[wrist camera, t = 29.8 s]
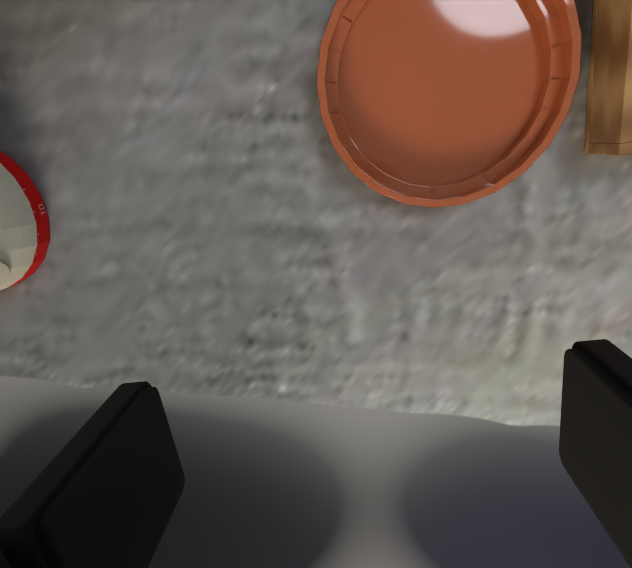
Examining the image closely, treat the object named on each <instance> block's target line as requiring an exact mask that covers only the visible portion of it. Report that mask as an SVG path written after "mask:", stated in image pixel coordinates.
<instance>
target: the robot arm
mask: <svg viewBox="0 0 632 568" xmlns="http://www.w3.org/2000/svg"><path fill="white" fill-rule="evenodd" d="M559 454H560V458H561V461H562V464H563V466H564V468H565V470H566V471H567V473H568V474H569V476H570V477H571V479H572V480H573V482H574V483H575V485H576V486H577V488H578V489H579V491H580V492H581V494H582V495H583V497H584V498H585V500H586V501H587V503H588V505H589V506H590V508H591V509H592V510H593V512H594V514H595V515H596V517H597V518H598V520H599V521H600V523H601V524H602V526H603V527H604V529H605V530H606V532H607V533H608V535H609V536H610V538H611V539H612V541H613V542H614V544H615V545H616V547H617V548H618V550H619V552H620V553H621V555H622V556H623V558H624V559H625V561H626V562H627V564H628V565H629V566H630V568H632V358H630V357H629V356H628V355H626V354H625V353H624V352H623V351H621V350H620V349H619V348H617V347H616V346H615V345H614V344H612V343H611V342H610V341H608V340H606V339H601V340H590V341H579V342H575V343H574V344H573V346H572V349H567V350H566V352H565V355H564V369H563V387H562V405H561V423H560V441H559ZM184 482H185V479H184V473H183V469H182V466H181V463H180V460H179V457H178V453H177V450H176V447H175V443H174V440H173V437H172V434H171V430H170V427H169V424H168V421H167V417H166V414H165V411H164V408H163V404H162V401H161V398H160V395H159V392H158V390H157V388H156V387H151V385H150V384H149V383H148V382H146V381H145V382H134V383H124V384H121V385H120V386H119V387H118V388H117V389H116V390H115V391H114V392H113V394H112V395H111V396H110V397H109V398H108V399H107V400H106V401H105V402H104V403H103V405H102V406H101V407H100V408H99V409H98V410H97V411H96V412H95V413H94V415H93V416H92V417H91V418H90V419H89V420H88V421H87V422H86V424H85V425H84V426H83V427H82V428H81V429H80V430H79V431H78V432H77V433H76V435H75V436H74V437H73V438H72V439H71V440H70V441H69V442H68V444H66V446H65V447H64V448H63V449H62V450H61V451H60V452H59V454H58V455H57V456H56V457H55V458H54V459H53V460H52V461H51V462H50V463H49V464H48V466H47V467H46V468H45V469H44V470H43V471H42V472H41V473H40V474H39V475H38V477H37V478H36V479H35V480H34V481H33V482H32V483H31V484H30V485H29V487H28V488H27V489H26V490H25V491H24V492H23V493H22V495H21V496H20V497H19V498H18V499H17V500H16V501H15V502H14V503H13V505H11V507H10V508H9V509H8V510H7V511H6V512H5V513H4V514H3V516H1V518H0V568H148V566H149V564H150V562H151V559H152V557H153V555H154V553H155V551H156V548H157V546H158V544H159V542H160V540H161V537H162V535H163V533H164V531H165V529H166V527H167V524H168V522H169V520H170V517H171V516H172V513H173V511H174V509H175V507H176V505H177V503H178V500H179V498H180V496H181V494H182V491H183V488H184Z"/></svg>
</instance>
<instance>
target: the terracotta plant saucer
mask: <svg viewBox="0 0 632 568" xmlns="http://www.w3.org/2000/svg"><path fill="white" fill-rule="evenodd" d="M581 41H582V35H581V30H580V25H579V20H578V15H577V10H576V5H575V1H574V0H338V1H337V2H336V4H335V5H334V8H333V10H332V13H331V16H330V19H329V22H328V24H327V27H326V30H325V33H324V36H323V38H322V41H321V45H320V55H319V64H318V73H317V87H318V95H319V103H320V111H321V116H322V119H323V122H324V124H325V127H326V130H327V132H328V135H329V137H330V140H331V142H332V145H333V147H334V149H335V150H336V151H337V153H338V154H339V155H340V157H341V158H342V160H343V161H344V162H345V164H346V165H347V166H348V168H349V169H350V170H351V172H352V173H353V174H354V175H356V176H357V177H358V178H359V179H361V180H362V181H363V182H364V183H366V184H367V185H368V186H369V187H371V188H372V189H373V190H375V191H376V192H378V193H380V194H383V195H385V196H387V197H390V198H392V199H394V200H397V201H399V202H401V203H404V204H411V205H418V206H426V207H433V208H434V207H443V206H451V205H459V204H465V203H469V202H471V201H474V200H476V199H479V198H481V197H484V196H487V195H489V194H492V193H494V192H496V191H498V190H500V189H501V188H503V187H504V186H505V185H507V184H508V183H510V182H511V181H513V180H514V179H516V178H517V177H518V176H520V175H521V174H523V173H524V172H525V171H526V170H527V169H528V168H529V167H530V166H531V165H532V164H533V163H534V162H535V161H536V159H537V158H538V157H539V156H540V155H541V154H542V153H543V152H544V151H545V150H546V148H547V147H548V146H549V145H550V144H551V142H552V140H553V139H554V137H555V135H556V133H557V132H558V130H559V128H560V126H561V125H562V123H563V121H564V119H565V118H566V116H567V114H568V112H569V109H570V105H571V102H572V99H573V95H574V92H575V89H576V86H577V82H578V79H579V75H580V58H581Z"/></svg>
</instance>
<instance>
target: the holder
mask: <svg viewBox="0 0 632 568" xmlns="http://www.w3.org/2000/svg"><path fill="white" fill-rule="evenodd" d="M584 153H594V154H608V155H625V154H632V0H594V3H593V18H592V34H591V50H590V65H589V81H588V97H587V112H586V128H585V144H584Z"/></svg>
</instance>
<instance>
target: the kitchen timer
mask: <svg viewBox="0 0 632 568" xmlns="http://www.w3.org/2000/svg"><path fill="white" fill-rule="evenodd" d="M49 241H50V235H49V218H48V215H47V212H46V209H45V206H44V202H43V199H42V197H41V195H40V194H39V192H38V190H37V189H36V187H35V185H34V184H33V182H32V180H31V179H30V177H29V176H28V175H27V174H26V173H25V172H24V171H23V170H22V169H21V168H20V167H19V166H18V164H17V163H16V162H15V161H14V160H13V159H12V158H10V157H9V156H7V155H5V154H4V153H2V152H1V151H0V290H2V289H5V288H8V287H10V286H12V285H15V284H17V283H19V282H21V281H22V280H24V279H25V278H27V277H29V276H30V275H32V274H33V273H35V271H36V270H37V268H38V267H39V266H40V264H41V263H42V261H43V260H44V259H45V255H46V252H47V248H48V245H49Z"/></svg>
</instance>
